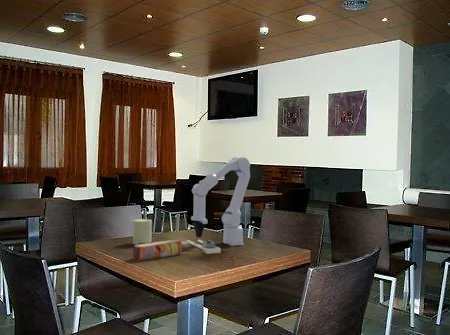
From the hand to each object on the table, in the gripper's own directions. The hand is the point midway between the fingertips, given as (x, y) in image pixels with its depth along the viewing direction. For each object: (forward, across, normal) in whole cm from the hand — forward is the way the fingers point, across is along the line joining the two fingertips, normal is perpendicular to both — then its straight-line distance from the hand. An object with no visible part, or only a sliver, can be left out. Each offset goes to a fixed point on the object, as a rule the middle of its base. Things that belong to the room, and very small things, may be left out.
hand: (198, 236), depth 206 cm
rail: (+5, +4, 0) cm, 6 cm away
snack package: (+5, +14, -26) cm, 30 cm away
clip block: (+4, +11, 0) cm, 12 cm away
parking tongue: (+5, -8, -6) cm, 11 cm away
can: (+5, -18, -22) cm, 29 cm away
